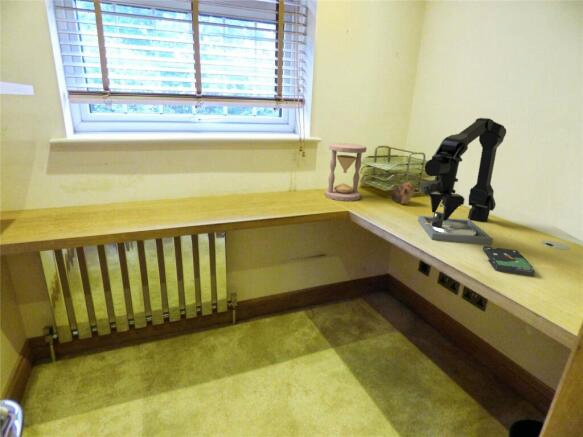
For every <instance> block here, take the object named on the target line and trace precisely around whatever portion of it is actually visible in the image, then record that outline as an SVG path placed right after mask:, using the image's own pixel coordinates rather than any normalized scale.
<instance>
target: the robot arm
mask: <svg viewBox="0 0 583 437" xmlns="http://www.w3.org/2000/svg"><path fill="white" fill-rule="evenodd" d="M506 135H507V129H506V128H505V126H504V125H503V124H501V123H498V122H496V121H494V119H491V118H488V117H487V118H485V117H479V118H476V119H475V121H474V122H472V123H471V124H470V125H469V126H467V127H466V128H465V129H463V130H462V131H461V132H459V133H455V134H451V135H449V136H446V137H445V138H443V140H442V141H441V143H440V145H439V146H438V147H437V149H436V151H435V152H434V154H433V155H432V156H431V159H429V160H428V161H427V162H426V163H425V165H424V172H425V173H426V175H427V176H429V177H434V179H431V180H428V181H424V182H421V183H420V184H419V186H420V192H421V193H422V194H423V195H425V196H427V195H428V197H429V198H430V199H429V200H430V206H431V207H430V208H431V213H433V214H434V212H437V210H438V208H439V207H440V205H441V204H442V206H443V212H442V213H443V220H444V221H446V220H447V219H448V218H451V216H452V215H453V213H455V211H456V210H457V209H458V208H459V207H461V206H463V205H464V204H465V198H464V196H463V195H461V194H459V193H456V191H457V190H455V189H454V188H455V184H456V183H458V182H459V179H458V178H457V174H458V169H459V165H460V163H461V162H463V158H462V156H463V155H464V154H465V153H466V152H467V150H468V149H469V148H468V147H469V145H470V144H471V143H472V142H474V141H475V140H476V139H478V138H479V139H478V142H479V144H480V146H481V147H482V150H481V154H480V161H479V165H478V174H477V180H476V184H474V186H473V187H471V188H470V189H469V194H468V206H471V208H469V212H468V215H467V220H471V221H472V222H476V223H477V222H478V223H486V222H488V219H489V216H490V212H491V211H494V209H495V208H496V206H497V204H496V201H495V198H494V188H493V186H492V185H491V184H492V183H491V182H492V177H493V171H494V166H495V161H496V155H497V149H498V147H500V145H501V144H502V143H504V142H503V141H504V139H505V136H506Z"/></svg>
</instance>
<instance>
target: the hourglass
mask: <svg viewBox="0 0 583 437" xmlns="http://www.w3.org/2000/svg"><path fill="white" fill-rule="evenodd" d="M328 150H330V151H331V158H330V162H329V163H330V164H329V168H330V173H329V175H328V187H327V188H326V189H325V190H324V196H325V197H326V198H328V199H331V200H334V201H335V200H336V201H340V202H355V201H358V200H360V199H361V192H359V191H358V187H359V186H358V185H359V183H360V182H359V181H360V169H361V166H362V154H363V153H366V152H367V146H366V145H362V144H356V143H355V144H354V143H348V142H347V143H346V142H345V143H343V142H342V143H341V142H340V143H339V142H333V143H329V146H328ZM337 152H339V153H348V154H349V153H350V154H356V156H354V155H347V154H345V155H344V154H338V155H337ZM337 161H338V162H339V164H340V166H341V168H342V170H343V171H342V172H343V173H344V174H347V173H348V170H349V169H350V167H351V166H352V165H353V163H354V169H355V172H354V175H353V178H352V182H353V184H352V186H350V185H348V184H346V183H343V182H342V183H340V184H336V185H335V184H334V183H335V179H336V175H335V169H336V167H337Z"/></svg>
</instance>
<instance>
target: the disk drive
mask: <svg viewBox="0 0 583 437" xmlns="http://www.w3.org/2000/svg"><path fill="white" fill-rule="evenodd" d="M482 251H483V252H484V254H485V255H486V256H487V258H488V260H487V261H488V262H489V264H490V265H491V267H492V268H493V270H494V271H495V272H501V273H506V274H514V275H520V276H526V277H527V276H528V277H534V276H535V274H536V271H535V268H534V266H532V265H531V263H530V262H529V261H528V260H527V258H525V257H524V255H522V253H521V252H520V251H518V250H517V249H509V248H503V247H497V248H493V247H492V246H490V245H483V247H482Z"/></svg>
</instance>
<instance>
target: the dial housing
mask: <svg viewBox="0 0 583 437" xmlns="http://www.w3.org/2000/svg"><path fill="white" fill-rule="evenodd" d="M447 220H449V221H455V222H460V223H463V224H466V225H469V226H471V227H473V228H474V229H475V230H476V231H477V232H476V236H472V235H461V234H449V233H438V232H435V230H434V229H433V228H432V227H431V226H430V222H431V221H433V216H427V215H426V216H425V215H418V217H417V222H418V223H419V225H420V226H421V228H422V229H423V230H424V232H425V233H426V234H427V235H428V237H429V238H430V239H431V241H442V242H443V241H444V242H451V243H452V242H453V243H462V244H463V243H464V244H473V245H474V244H475V245H476V244H477V245H483V246H492V244H493V237H492V236H490V235H489V234H488V233H486V231H484V230H483V229H482V228H481V227H479V226H478V225H477V224H476V223H474V221H472V220H470V219H463V218H462V219H461V218H451V217H449V218H448V219H447Z"/></svg>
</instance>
